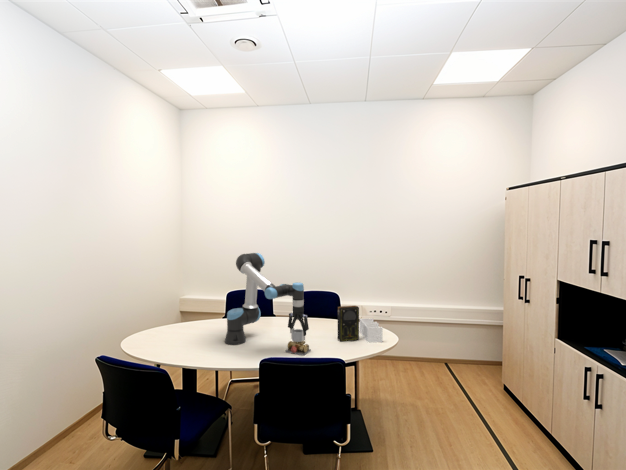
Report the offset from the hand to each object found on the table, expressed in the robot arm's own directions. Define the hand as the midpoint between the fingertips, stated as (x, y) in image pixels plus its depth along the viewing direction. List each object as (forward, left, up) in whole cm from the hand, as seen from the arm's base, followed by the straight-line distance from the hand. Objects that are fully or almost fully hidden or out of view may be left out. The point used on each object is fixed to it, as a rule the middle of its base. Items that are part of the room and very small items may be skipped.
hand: (298, 339), depth 234 cm
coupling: (0, 0, 0) cm, 0 cm away
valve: (0, 0, -8) cm, 8 cm away
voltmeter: (+19, +39, -8) cm, 44 cm away
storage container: (+31, +54, -9) cm, 63 cm away
